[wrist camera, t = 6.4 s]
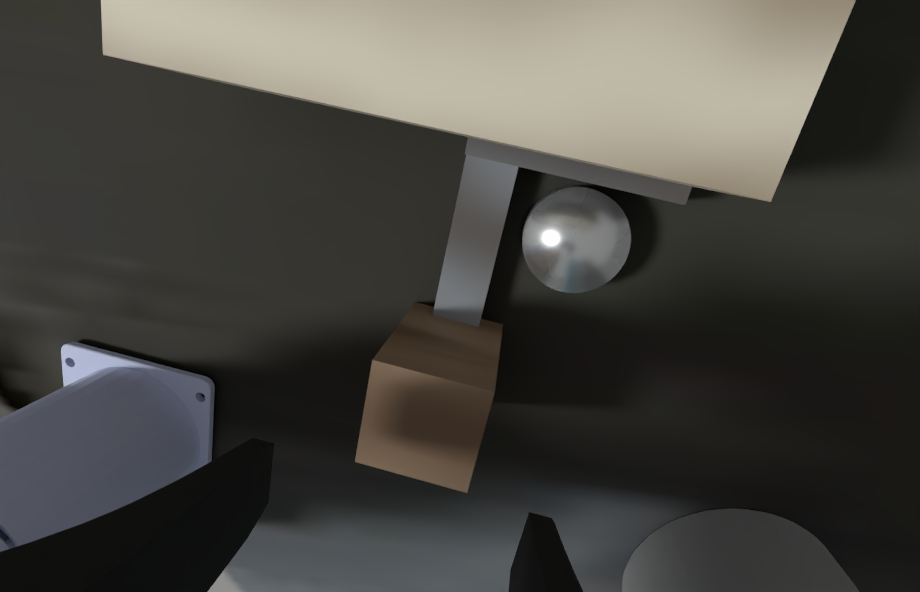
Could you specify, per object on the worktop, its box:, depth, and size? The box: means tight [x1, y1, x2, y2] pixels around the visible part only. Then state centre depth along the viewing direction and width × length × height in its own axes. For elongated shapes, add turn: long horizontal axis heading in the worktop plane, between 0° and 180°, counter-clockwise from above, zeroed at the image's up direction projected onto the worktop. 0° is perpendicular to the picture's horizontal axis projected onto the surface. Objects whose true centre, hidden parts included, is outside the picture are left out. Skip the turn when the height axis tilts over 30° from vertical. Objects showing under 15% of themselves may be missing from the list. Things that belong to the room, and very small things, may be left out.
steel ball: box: [522, 186, 631, 293], centre depth 18 cm, size 4×4×2 cm
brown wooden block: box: [355, 137, 692, 493], centre depth 17 cm, size 11×9×6 cm
